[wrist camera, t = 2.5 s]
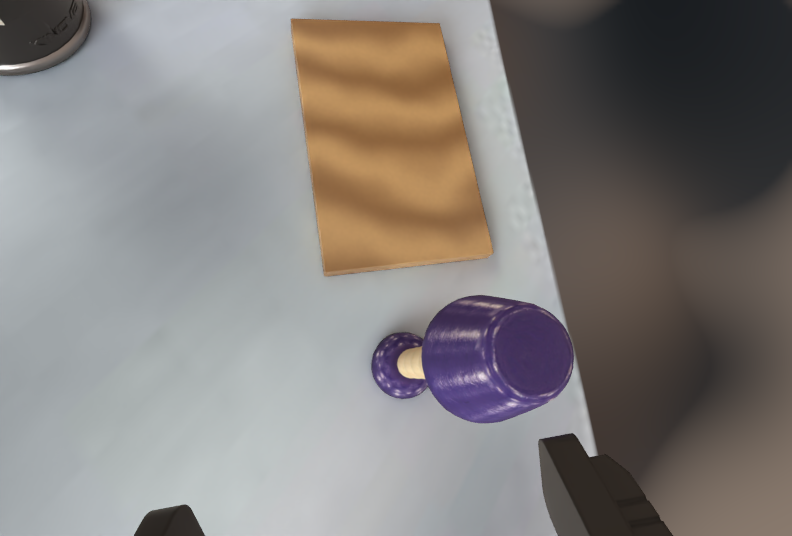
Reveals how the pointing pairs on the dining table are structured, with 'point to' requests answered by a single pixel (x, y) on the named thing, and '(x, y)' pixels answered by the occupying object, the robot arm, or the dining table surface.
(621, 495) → the robot arm
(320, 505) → the dining table surface
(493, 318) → the toy lamp
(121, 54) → the dining table surface
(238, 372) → the dining table surface
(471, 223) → the oak board
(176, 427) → the dining table surface
